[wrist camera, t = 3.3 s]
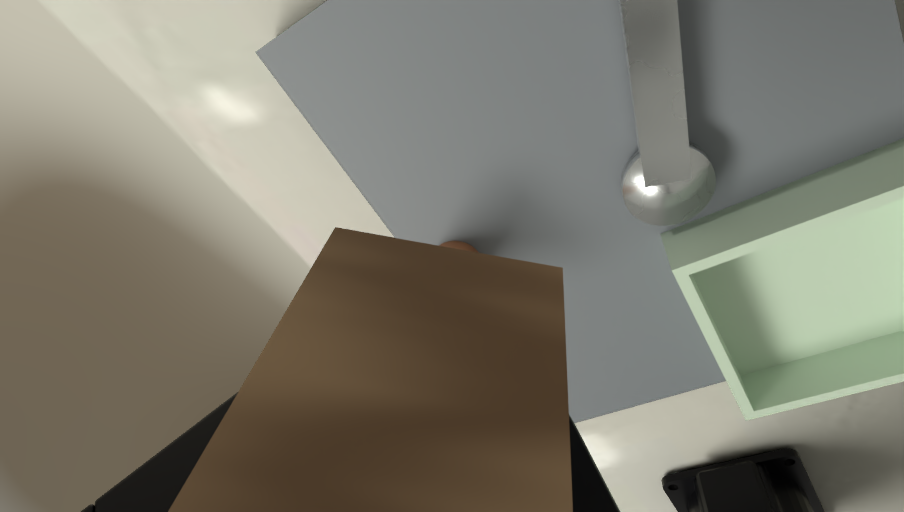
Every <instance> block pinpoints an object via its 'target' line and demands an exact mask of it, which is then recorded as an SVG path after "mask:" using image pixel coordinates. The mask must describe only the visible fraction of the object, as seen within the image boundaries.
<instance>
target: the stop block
mask: <svg viewBox="0 0 904 512" xmlns="http://www.w3.org/2000/svg"><path fill="white" fill-rule="evenodd" d="M168 512H573V502H572V478H571V454H570V430H569V405H568V381H567V357H566V333H565V309H564V285H563V268H562V267H556V266H551V265H545V264H539V263H534V262H528V261H522V260H517V259H511V258H505V257H500V256H494V255H488V254H483V253H477V252H472V251H466V250H460V249H455V248H449V247H443V246H438V245H432V244H426V243H421V242H415V241H410V240H404V239H398V238H393V237H387V236H381V235H376V234H370V233H364V232H359V231H353V230H348V229H342V228H336V227H335V229H334V230H333V232H332V234H331V235H330V237H329V239H328V241H327V242H326V244H325V246H324V247H323V249H322V251H321V252H320V254H319V256H318V258H317V259H316V261H315V263H314V264H313V266H312V268H311V269H310V271H309V273H308V275H307V276H306V278H305V280H304V281H303V283H302V285H301V286H300V288H299V290H298V292H297V293H296V295H295V297H294V299H293V300H292V302H291V303H290V305H289V307H288V309H287V311H286V312H285V314H284V316H283V317H282V319H281V321H280V322H279V324H278V326H277V327H276V329H275V331H274V333H273V334H272V336H271V338H270V339H269V341H268V343H267V344H266V346H265V348H264V350H263V351H262V353H261V355H260V356H259V358H258V360H257V361H256V363H255V365H254V366H253V368H252V370H251V372H250V373H249V375H248V377H247V378H246V380H245V382H244V383H243V385H242V387H241V389H240V390H239V392H238V394H237V395H236V397H235V399H234V400H233V402H232V404H231V406H230V407H229V409H228V411H227V412H226V414H225V416H224V417H223V419H222V421H221V423H220V424H219V426H218V428H217V429H216V431H215V433H214V434H213V436H212V438H211V440H210V441H209V443H208V445H207V446H206V448H205V450H204V451H203V453H202V455H201V457H200V458H199V460H198V462H197V463H196V465H195V467H194V468H193V470H192V472H191V474H190V475H189V477H188V479H187V480H186V482H185V484H184V485H183V487H182V489H181V491H180V492H179V494H178V496H177V497H176V499H175V501H174V502H173V504H172V506H171V508H170V509H169V511H168Z"/></svg>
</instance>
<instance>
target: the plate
mask: <svg viewBox="0 0 904 512" xmlns="http://www.w3.org/2000/svg"><path fill="white" fill-rule="evenodd" d="M677 4H678V16H679V28H680V40H681V53H682V65H683V77H684V89H685V101H686V113H687V126H688V138H689V142H691V143H693V144H695V145H696V146H698V147H699V148H700V149H701V150H702V151H703V152H704V153H705V154H706V156H707V157H708V159H709V161H710V163H711V165H712V167H713V168H714V171H715V176H716V186H715V191H714V194H713V196H712V198H711V200H710V201H709V203H708V204H707V206H706V207H705V208H704V209H703V210H702V211H701V212H700V213H698V214H697V215H696V216H694V217H693V218H691V219H689V220H687V221H685V222H682V223H679V224H675V225H669V226H657V225H651V224H648V223H645V222H643V221H641V220H639V219H637V218H636V217H635V216H633V215H632V214H631V213H630V211H629V210H628V209H627V207H626V205H625V202H624V199H623V195H622V191H621V175H622V172H623V169H624V167H625V165H626V163H627V162H628V160H629V159H630V158H631V157H632V156H633V155H634V154H635V153H636V152H637V151H638V143H637V135H636V128H635V120H634V113H633V105H632V98H631V90H630V83H629V75H628V68H627V60H626V53H625V45H624V38H623V30H622V22H621V15H620V7H619V0H327V1H326V2H324V3H323V4H322V5H320V6H319V7H317V8H316V9H315V10H313V11H312V12H310V13H309V14H308V15H306V16H305V17H303V18H302V19H301V20H299V21H298V22H297V23H295V24H294V25H292V26H291V27H290V28H288V29H287V30H285V31H284V32H283V33H281V34H280V35H278V36H277V37H276V38H274V39H273V40H272V41H270V42H269V43H267V44H266V45H265V46H263V47H262V48H260V49H259V50H258V51H256V54H257V55H258V56H259V58H260V59H261V60H262V62H263V63H264V64H265V66H266V67H267V68H268V70H269V71H270V72H271V74H272V75H273V76H274V78H275V79H276V80H277V82H278V83H279V84H280V86H281V87H282V88H283V90H284V91H285V92H286V94H287V95H288V96H289V98H290V99H291V100H292V102H293V103H294V104H295V106H296V107H297V108H298V110H299V111H300V112H301V114H302V115H303V116H304V118H305V119H306V120H307V122H308V123H309V124H310V126H311V127H312V128H313V130H314V131H315V132H316V134H317V135H318V136H319V138H320V139H321V140H322V141H323V143H324V144H325V145H326V147H327V148H328V149H329V151H330V152H331V153H332V155H333V156H334V157H335V159H336V160H337V161H338V163H339V164H340V165H341V167H342V168H343V169H344V171H345V172H346V173H347V175H348V176H349V177H350V179H351V180H352V181H353V183H354V184H355V185H356V187H357V188H358V189H359V191H360V192H361V193H362V195H363V196H364V197H365V199H366V200H367V201H368V203H369V204H370V205H371V207H372V208H373V209H374V211H375V212H376V213H377V215H378V216H379V217H380V219H381V220H382V221H383V223H384V224H385V225H386V227H387V228H388V229H389V231H390V232H391V233H392V234H393V236H394V237H395V238H398V239H404V240H410V241H415V242H421V243H426V244H432V245H438V246H443V247H449V248H455V249H460V250H466V251H472V252H477V253H483V254H488V255H494V256H500V257H505V258H511V259H517V260H522V261H528V262H534V263H539V264H545V265H551V266H556V267H562V268H563V285H564V309H565V333H566V357H567V381H568V405H569V415H570V416H571V418H572V420H573V422H574V423H577V422H580V421H584V420H587V419H591V418H595V417H598V416H602V415H605V414H609V413H613V412H616V411H620V410H623V409H627V408H631V407H634V406H638V405H641V404H645V403H648V402H652V401H656V400H659V399H663V398H666V397H670V396H674V395H677V394H681V393H684V392H688V391H691V390H695V389H699V388H702V387H706V386H709V385H713V384H717V383H720V382H724V381H726V379H725V377H724V375H723V373H722V371H721V369H720V367H719V365H718V363H717V361H716V359H715V357H714V355H713V353H712V351H711V349H710V347H709V345H708V343H707V341H706V339H705V337H704V335H703V333H702V331H701V329H700V327H699V325H698V323H697V321H696V319H695V317H694V315H693V313H692V311H691V309H690V307H689V305H688V303H687V301H686V299H685V296H684V294H683V292H682V290H681V288H680V286H679V284H678V282H677V280H676V278H675V276H674V274H673V272H672V270H671V267H670V264H669V260H668V257H667V254H666V251H665V248H664V245H663V241H662V238H661V235H660V234H661V233H664V232H666V231H669V230H671V229H674V228H677V227H679V226H682V225H684V224H687V223H689V222H692V221H694V220H697V219H699V218H702V217H705V216H707V215H710V214H712V213H715V212H717V211H720V210H722V209H725V208H727V207H730V206H733V205H735V204H738V203H740V202H743V201H745V200H748V199H750V198H753V197H755V196H758V195H760V194H763V193H766V192H768V191H771V190H773V189H776V188H778V187H781V186H783V185H786V184H788V183H791V182H794V181H796V180H799V179H801V178H804V177H806V176H809V175H811V174H814V173H816V172H819V171H822V170H824V169H827V168H829V167H832V166H834V165H837V164H839V163H842V162H844V161H847V160H850V159H852V158H855V157H857V156H860V155H862V154H865V153H867V152H870V151H872V150H875V149H877V148H880V147H883V146H885V145H888V144H890V143H893V142H895V141H898V140H900V139H903V138H904V42H903V37H902V33H901V28H900V23H899V18H898V13H897V9H896V4H895V0H677Z"/></svg>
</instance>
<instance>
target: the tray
mask: <svg viewBox="0 0 904 512" xmlns="http://www.w3.org/2000/svg"><path fill="white" fill-rule="evenodd" d="M660 235H661V238H662V241H663V245H664V248H665V251H666V254H667V257H668V260H669V264H670V267H671V270H672V272H673V274H674V276H675V278H676V280H677V282H678V284H679V286H680V288H681V290H682V292H683V294H684V296H685V299H686V301H687V303H688V305H689V307H690V309H691V311H692V313H693V315H694V317H695V319H696V321H697V323H698V325H699V327H700V329H701V331H702V333H703V335H704V337H705V339H706V341H707V343H708V345H709V347H710V349H711V351H712V353H713V355H714V357H715V359H716V361H717V363H718V365H719V367H720V369H721V371H722V373H723V375H724V377H725V379H726V381H727V383H728V386H729V388H730V390H731V392H732V394H733V396H734V398H735V400H736V402H737V404H738V406H739V408H740V410H741V412H742V414H743V416H744V418H745V420H746V421H747V420H751V419H755V418H759V417H763V416H767V415H771V414H775V413H779V412H783V411H787V410H791V409H795V408H799V407H803V406H807V405H811V404H815V403H819V402H823V401H827V400H831V399H835V398H839V397H844V396H848V395H852V394H856V393H860V392H864V391H868V390H872V389H876V388H880V387H884V386H888V385H892V384H896V383H900V382H904V138H903V139H900V140H898V141H895V142H893V143H890V144H888V145H885V146H883V147H880V148H877V149H875V150H872V151H870V152H867V153H865V154H862V155H860V156H857V157H855V158H852V159H850V160H847V161H844V162H842V163H839V164H837V165H834V166H832V167H829V168H827V169H824V170H822V171H819V172H816V173H814V174H811V175H809V176H806V177H804V178H801V179H799V180H796V181H794V182H791V183H788V184H786V185H783V186H781V187H778V188H776V189H773V190H771V191H768V192H766V193H763V194H760V195H758V196H755V197H753V198H750V199H748V200H745V201H743V202H740V203H738V204H735V205H733V206H730V207H727V208H725V209H722V210H720V211H717V212H715V213H712V214H710V215H707V216H705V217H702V218H699V219H697V220H694V221H692V222H689V223H687V224H684V225H682V226H679V227H677V228H674V229H671V230H669V231H666V232H664V233H661V234H660Z"/></svg>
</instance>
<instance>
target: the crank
mask: <svg viewBox="0 0 904 512" xmlns="http://www.w3.org/2000/svg"><path fill="white" fill-rule="evenodd" d="M619 7H620V15H621V22H622V30H623V38H624V45H625V53H626V60H627V68H628V75H629V83H630V90H631V98H632V105H633V113H634V120H635V128H636V135H637V143H638V151H637V152H636V153H635V154H634V155H633V156H632V157H631V158H630V159H629V160H628V162H627V163H626V165H625V167H624V169H623V172H622V175H621V191H622V195H623V199H624V202H625V205H626V207H627V209H628V210H629V211H630V213H631V214H632V215H633V216H635V217H636V218H637V219H639V220H641V221H643V222H645V223H648V224H651V225H657V226H669V225H675V224H679V223H682V222H685V221H687V220H689V219H691V218H693V217H694V216H696V215H697V214H698V213H700V212H701V211H702V210H703V209H704V208H705V207H706V206H707V204H708V203H709V201H710V200H711V198H712V196H713V194H714V191H715V186H716V176H715V171H714V168H713V167H712V165H711V163H710V161H709V159H708V157H707V156H706V154H705V153H704V152H703V151H702V150H701V149H700V148H699V147H698V146H696V145H695V144H693V143H691V142H689V138H688V126H687V113H686V101H685V89H684V77H683V65H682V53H681V40H680V28H679V16H678V4H677V0H619Z"/></svg>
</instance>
